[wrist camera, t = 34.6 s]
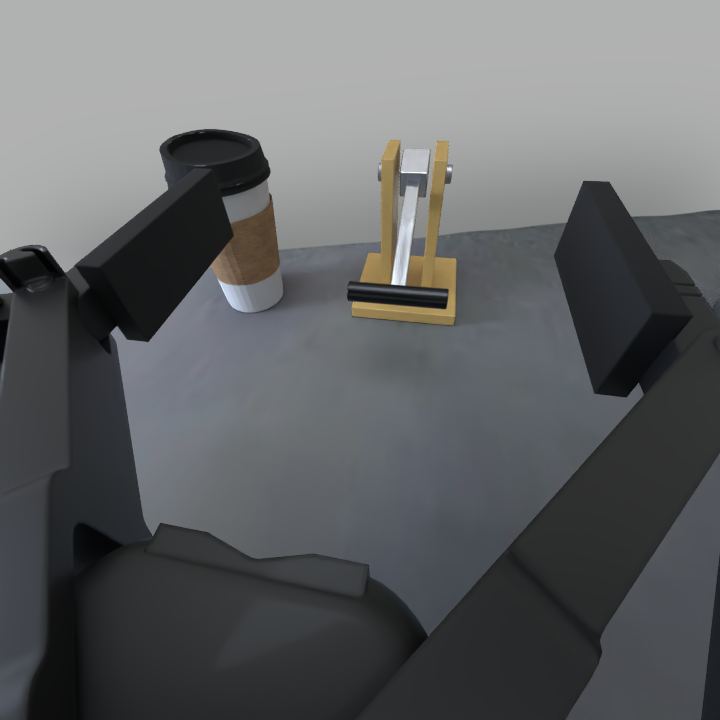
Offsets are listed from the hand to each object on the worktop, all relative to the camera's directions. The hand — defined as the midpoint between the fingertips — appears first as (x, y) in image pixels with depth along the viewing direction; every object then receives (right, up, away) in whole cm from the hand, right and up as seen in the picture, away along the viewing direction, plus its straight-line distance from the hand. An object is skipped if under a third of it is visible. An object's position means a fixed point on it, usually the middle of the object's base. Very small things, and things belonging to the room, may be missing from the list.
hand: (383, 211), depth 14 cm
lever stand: (+4, +2, +26) cm, 26 cm away
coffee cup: (-12, +1, +26) cm, 29 cm away
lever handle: (+3, +4, +16) cm, 17 cm away
